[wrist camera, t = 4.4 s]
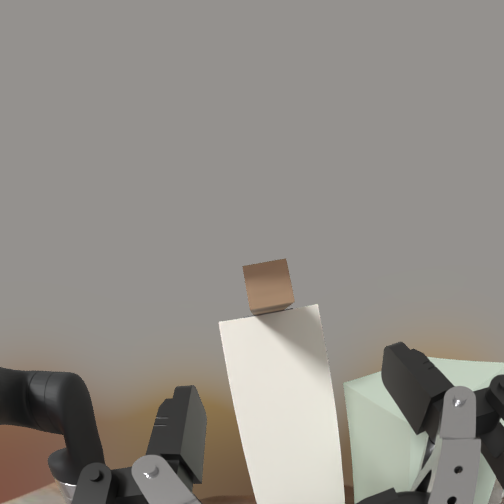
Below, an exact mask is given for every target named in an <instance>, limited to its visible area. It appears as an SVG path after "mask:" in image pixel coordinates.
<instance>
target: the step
mask: <svg viewBox="0 0 504 504" xmlns="http://www.w3.org/2000/svg"><path fill="white" fill-rule="evenodd" d="M427 358H428V359H429V360H430V362H432V363H433V364H434V365H435V367H437V368H438V369H439V370H440V371H441V372H442V373H443V374H444V375H445V376H446V378H447V379H448V380H449V381H450V382H451V383H452V384H453V385H454V386H465V387H468V388H470V389H471V390H472V391H476V390H480V389H483V388H487V387H489V385H490V382H491V380H492V379H493V378H494V377H495V376H497V375H501V374H504V363H496V362H477V361H463V360H451V359H441V358H432V357H427ZM343 386H344V393H345V400H346V408H347V416H348V425H349V434H350V443H351V455H352V467H353V483H354V504H356V503H358V502H359V501H361V500H363V499H365V498H367V497H370V496H373V495H375V494H378V493H380V492H383V491H385V490H388V489H390V488H393V487H394V489H395V491H396V492H403V491H410V490H411V488H412V485H413V483H414V481H415V479H416V477H417V474H418V471H419V467H420V463H421V459H422V455H423V451H424V447H425V442H426V438H427V436H428V434H427V433H426V431H424V432H422V433H420V434H418V435H416V434H415V432H414V431H413V429H412V427H411V426H410V424H409V423H408V421H407V420H406V418H405V417H404V415H403V414H402V412H401V410H400V409H399V407H398V406H397V404H396V403H395V401H394V400H393V398H392V397H391V395H390V394H389V392H388V391H387V389H386V388H385V386H384V384H383V382H382V378H381V371H380V372H377V373H374V374H371V375H368V376H365V377H362V378H359V379H355V380H352V381H349V382H345V383H343ZM500 422H501V424H502V425H503V426H504V421H503V419H502V418H501V419H500ZM495 479H496V476H495V474H494V472H493V471H492V469H491V467H490V466H489V464H488V463H487V461H486V459H485V458H484V456H483V455H482V453H480V464H479V472H478V479H477V486H476V491H475V497H474V501H473V504H488V501H489V498H490V495H491V492H492V489H493V486H494V482H495Z"/></svg>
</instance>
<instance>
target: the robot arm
mask: <svg viewBox="0 0 504 504" xmlns="http://www.w3.org/2000/svg"><path fill="white" fill-rule="evenodd" d="M381 378H382V382H383V384H384V386H385V388H386V389H387V391H388V392H389V394H390V395H391V397H392V398H393V400H394V401H395V403H396V404H397V406H398V407H399V409H400V410H401V412H402V414H403V415H404V417H405V418H406V420H407V421H408V423H409V424H410V426H411V427H412V429H413V431H414V432H415V434H416V435H418V434H420V433H422V432H424V431H426V433H427V434H428V436H427V438H426V442H425V447H424V451H423V455H422V459H421V463H420V467H419V471H418V474H417V477H416V479H415V481H414V483H413V485H412V488H411V490H410V491H403V492H396V491H395V489H394V487H393V488H390V489H388V490H385V491H383V492H380V493H378V494H375V495H373V496H370V497H367V498H365V499H363V500H361V501H359V502H358V503H356V504H473V501H474V497H475V491H476V486H477V479H478V472H479V464H480V453H482V455H483V456H484V458H485V459H486V461H487V463H488V464H489V466H490V467H491V469H492V471H493V472H494V474H495V476H496V478H497V479H498V481H499V483H500V484H501V486H502V488H503V492H502V498H501V500H500V503H499V504H504V426H503V425H502V424H501V422H500V419H501V418H502V419H503V421H504V374H501V375H497V376H495V377H494V378H493V379H492V380H491V382H490V385H489V387H487V388H483V389H480V390H476V391H472V390H471V389H470V388H468V387H465V386H454V385H453V384H452V383H451V382H450V381H449V380H448V379H447V378H446V376H445V375H444V374H443V373H442V372H441V371H440V370H439V369H438V368H437V367H435V365H434V364H433V363H432V362H430V360H429V359H428V358H427V357H426V356H425V355H424V354H423V353H421V352H419V351H417V350H415V349H412V350H410V349H409V348H408V347H407V346H406V345H405V344H404V343H403V342H398V343H395V344H392V345H390V346H386V347H385V349H384V355H383V364H382V371H381ZM156 417H157V419H155V423H154V427H153V430H152V434H151V437H150V442H149V445H148V449H147V452H146V455H145V456H143V457H141V458H139V459H138V460H136V462H135V463H134V464H133V466H132V467H128V468H122V469H114V470H110V469H109V467H107V466H106V465H105V461H104V455H103V449H102V445H101V441H100V438H99V434H98V430H97V426H96V421H95V416H94V412H93V406H92V402H91V398H90V394H89V392H88V389H87V387H86V385H85V383H84V381H83V380H82V378H81V377H79V376H78V375H77V374H74V373H70V372H51V371H20V370H12V369H6V368H1V367H0V425H4V424H6V425H15V426H22V427H28V428H33V429H36V430H40V431H44V432H50V433H56V434H62V435H64V439H65V443H66V447H67V448H63V449H60V450H57V451H55V452H54V453H52V454H51V455H50V456H49V458H48V465H49V468H50V470H51V472H52V475H53V477H54V479H55V481H56V483H57V485H58V487H59V490H60V492H61V493H62V495H63V497H64V499H65V501H66V503H67V504H202V503H201V502H200V501H199V499H198V498H197V497H196V496H195V495H194V494H193V493H192V487H193V484H201V483H202V472H203V459H204V447H205V436H206V425H207V418H206V412H205V409H204V406H203V404H202V402H201V399H200V397H199V394H198V392H197V389H196V387H195V386H194V385H191V386H178V387H176V388H175V391H174V395H173V399H165V401H164V402H163V403H162V404H161V405H160V407H159V409H158V413H157V416H156Z"/></svg>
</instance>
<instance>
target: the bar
mask: <svg viewBox="0 0 504 504" xmlns="http://www.w3.org/2000/svg"><path fill="white" fill-rule="evenodd" d="M243 272H244V278H245V283H246V289H247V295H248V301H249V306H250V310H251V312H252V313H253V315H259V314H264V313H270V312H275V311H281V310H284V309H286V308H287V307H288V306H290V305H291V304H292V303H293V302H294V296H293V290H292V286H291V280H290V276H289V271H288V266H287V261H286V259H280V260H275V261H269V262H264V263H258V264H253V265H247V266H243Z"/></svg>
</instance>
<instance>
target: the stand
mask: <svg viewBox="0 0 504 504" xmlns="http://www.w3.org/2000/svg"><path fill="white" fill-rule="evenodd" d="M219 327H220V333H221V339H222V345H223V351H224V356H225V362H226V367H227V373H228V378H229V383H230V389H231V394H232V398H233V404H234V409H235V413H236V418H237V423H238V427H239V432H240V436H241V441H242V445H243V450H244V454H245V458H246V463H247V466H248V471H249V475H250V479H251V483H252V487H253V491H254V495H255V498H256V502H257V504H345V496H344V482H343V472H342V460H341V450H340V441H339V433H338V424H337V417H336V409H335V402H334V395H333V389H332V382H331V375H330V369H329V363H328V357H327V351H326V345H325V340H324V334H323V329H322V323H321V319H320V313H319V308H318V304H315V305H310V306H306V307H301V308H296V309H293V308H291V309H286V310H281V311H275V312H270V313H264V314H259V315H253V316H248V317H244V318H241V319H236V320H229V321H222V322H219Z"/></svg>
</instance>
